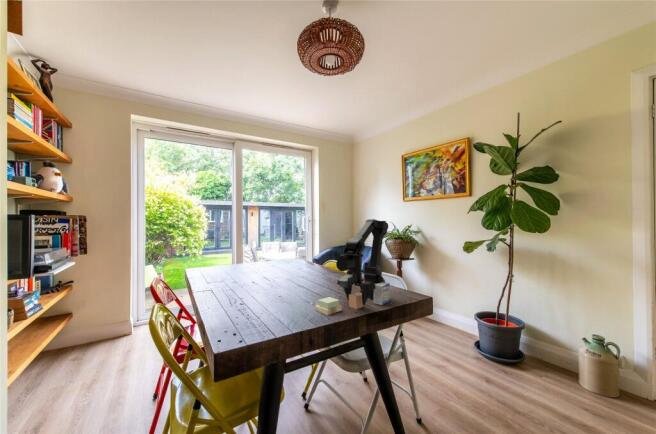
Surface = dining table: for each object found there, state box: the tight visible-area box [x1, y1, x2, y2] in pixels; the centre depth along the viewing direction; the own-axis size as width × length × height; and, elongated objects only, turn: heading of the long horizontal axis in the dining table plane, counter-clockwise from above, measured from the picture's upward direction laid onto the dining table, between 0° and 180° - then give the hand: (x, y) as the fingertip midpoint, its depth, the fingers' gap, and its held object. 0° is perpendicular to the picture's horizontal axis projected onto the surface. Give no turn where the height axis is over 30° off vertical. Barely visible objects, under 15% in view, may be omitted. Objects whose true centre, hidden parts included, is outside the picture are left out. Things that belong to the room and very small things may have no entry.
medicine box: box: [373, 281, 391, 306], centre depth 121 cm, size 8×4×9 cm, turn 141°
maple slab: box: [315, 304, 343, 316], centre depth 112 cm, size 8×8×2 cm
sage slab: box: [317, 296, 340, 309], centre depth 112 cm, size 6×6×2 cm
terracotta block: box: [348, 292, 364, 310], centre depth 116 cm, size 4×4×6 cm
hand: (356, 302), depth 116 cm, fingers open, 9 cm apart
